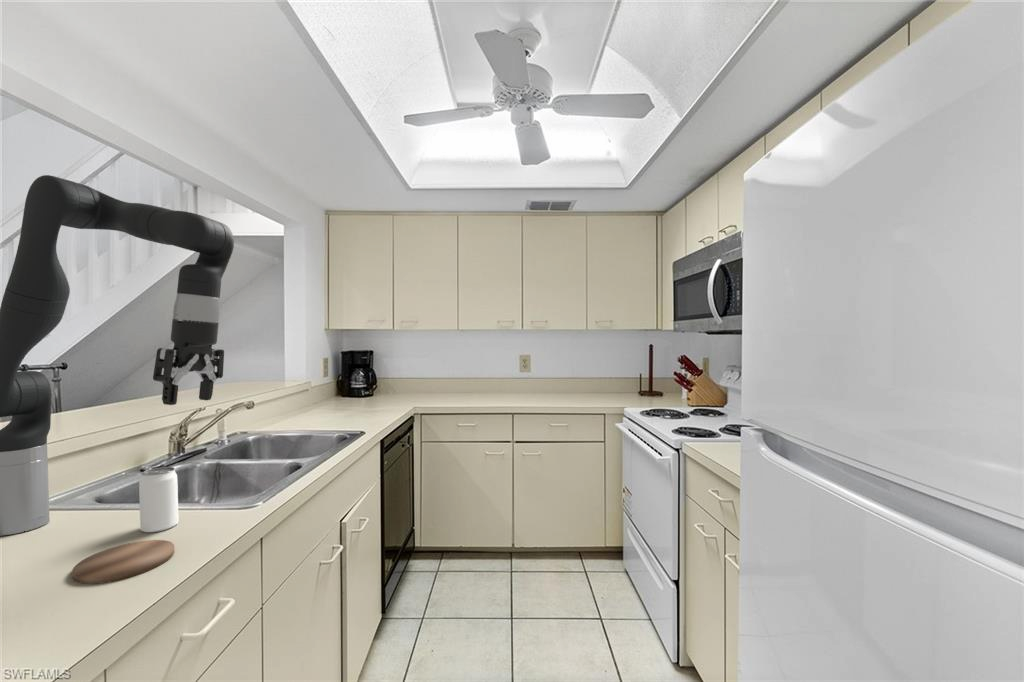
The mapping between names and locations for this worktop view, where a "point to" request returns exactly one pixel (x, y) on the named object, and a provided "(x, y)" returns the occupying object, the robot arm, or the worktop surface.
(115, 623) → the worktop surface
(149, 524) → the can
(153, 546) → the disc
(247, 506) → the worktop surface
